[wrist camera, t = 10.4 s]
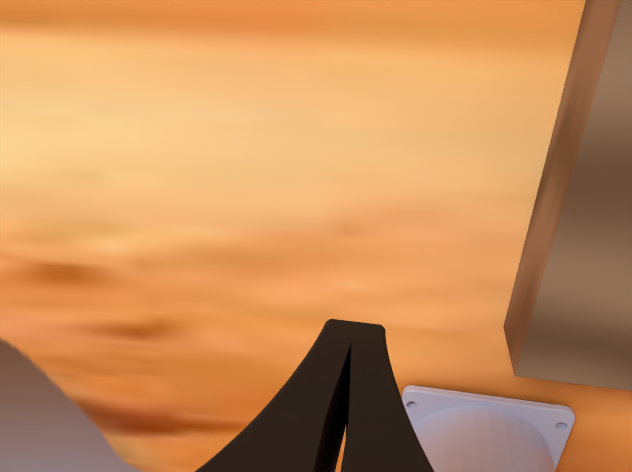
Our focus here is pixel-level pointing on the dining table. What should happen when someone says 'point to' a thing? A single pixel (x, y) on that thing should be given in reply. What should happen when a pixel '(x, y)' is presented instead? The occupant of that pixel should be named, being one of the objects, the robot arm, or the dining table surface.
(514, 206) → the dining table surface
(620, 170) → the walnut board
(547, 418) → the robot arm
